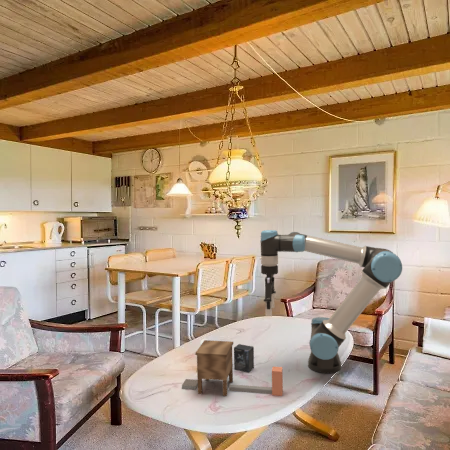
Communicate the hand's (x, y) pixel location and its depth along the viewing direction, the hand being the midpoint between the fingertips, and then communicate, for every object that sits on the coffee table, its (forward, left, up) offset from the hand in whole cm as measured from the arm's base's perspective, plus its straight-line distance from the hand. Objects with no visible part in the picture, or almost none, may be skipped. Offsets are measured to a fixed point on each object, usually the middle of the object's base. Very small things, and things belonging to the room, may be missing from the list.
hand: (270, 311), depth 175 cm
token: (+33, +17, -29) cm, 47 cm away
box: (+13, -4, -29) cm, 32 cm away
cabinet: (+22, +16, -29) cm, 40 cm away
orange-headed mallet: (+5, +17, -29) cm, 34 cm away
